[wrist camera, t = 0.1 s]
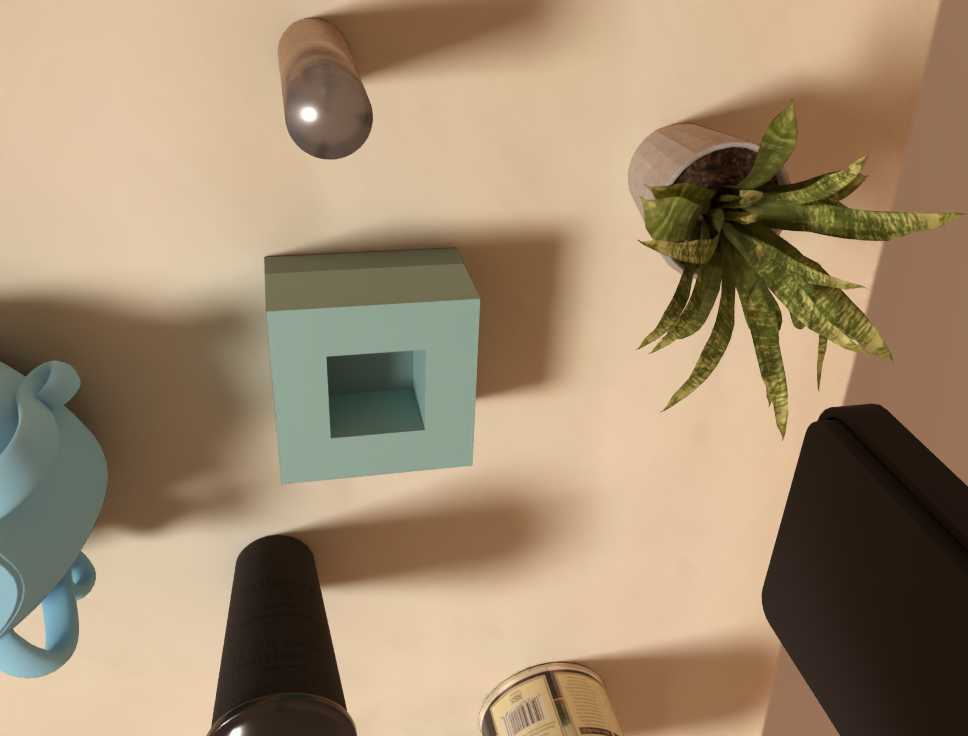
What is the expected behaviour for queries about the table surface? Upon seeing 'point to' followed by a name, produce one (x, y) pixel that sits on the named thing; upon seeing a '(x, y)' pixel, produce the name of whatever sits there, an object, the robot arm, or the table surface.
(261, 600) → the drinking cup
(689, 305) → the house plant
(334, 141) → the pin
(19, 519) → the decorative pot
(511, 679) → the coffee can
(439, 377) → the bore block
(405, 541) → the table surface
